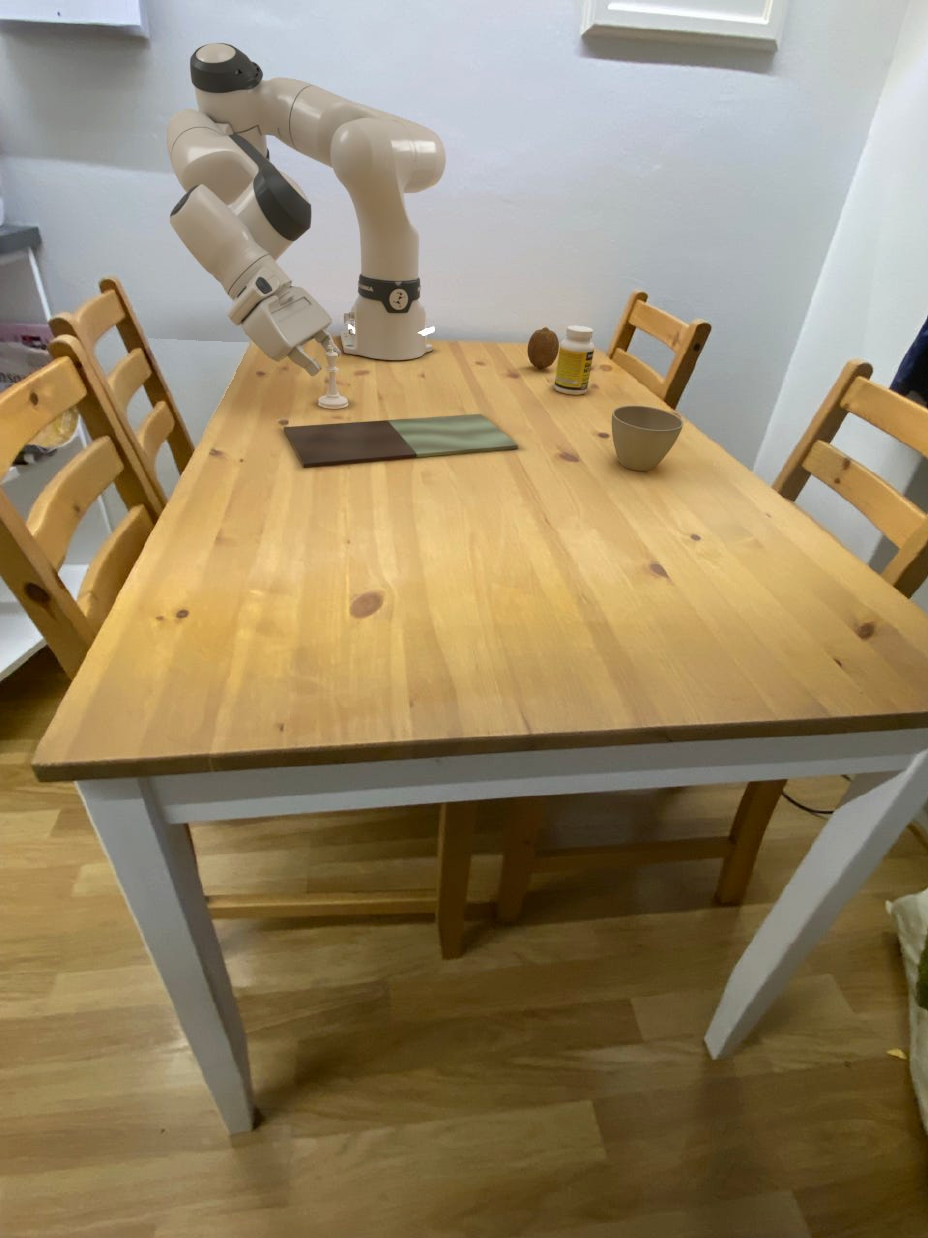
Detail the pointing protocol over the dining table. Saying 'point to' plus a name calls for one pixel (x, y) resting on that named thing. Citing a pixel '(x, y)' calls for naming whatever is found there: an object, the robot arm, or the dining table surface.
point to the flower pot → (643, 435)
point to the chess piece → (332, 383)
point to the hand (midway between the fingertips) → (327, 364)
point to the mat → (395, 439)
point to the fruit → (543, 348)
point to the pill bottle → (574, 361)
